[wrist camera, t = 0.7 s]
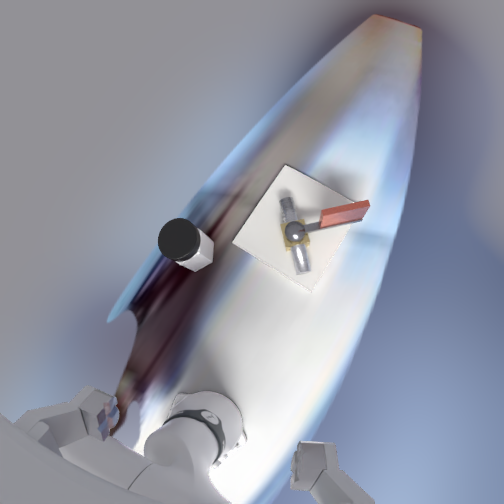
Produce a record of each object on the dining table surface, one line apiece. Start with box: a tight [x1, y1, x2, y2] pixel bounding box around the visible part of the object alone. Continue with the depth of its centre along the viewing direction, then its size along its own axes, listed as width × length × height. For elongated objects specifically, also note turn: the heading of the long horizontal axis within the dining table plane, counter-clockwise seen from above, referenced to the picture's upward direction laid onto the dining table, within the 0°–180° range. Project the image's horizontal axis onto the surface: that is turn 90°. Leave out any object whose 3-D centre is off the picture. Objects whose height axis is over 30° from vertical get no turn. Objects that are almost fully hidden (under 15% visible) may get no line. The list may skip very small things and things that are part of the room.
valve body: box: [279, 197, 312, 275], centre depth 59 cm, size 16×5×4 cm, turn 11°
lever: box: [285, 200, 370, 242], centre depth 53 cm, size 16×4×8 cm, turn 101°
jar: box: [158, 218, 214, 272], centre depth 59 cm, size 9×8×12 cm
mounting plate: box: [232, 165, 354, 292], centre depth 62 cm, size 22×20×1 cm
